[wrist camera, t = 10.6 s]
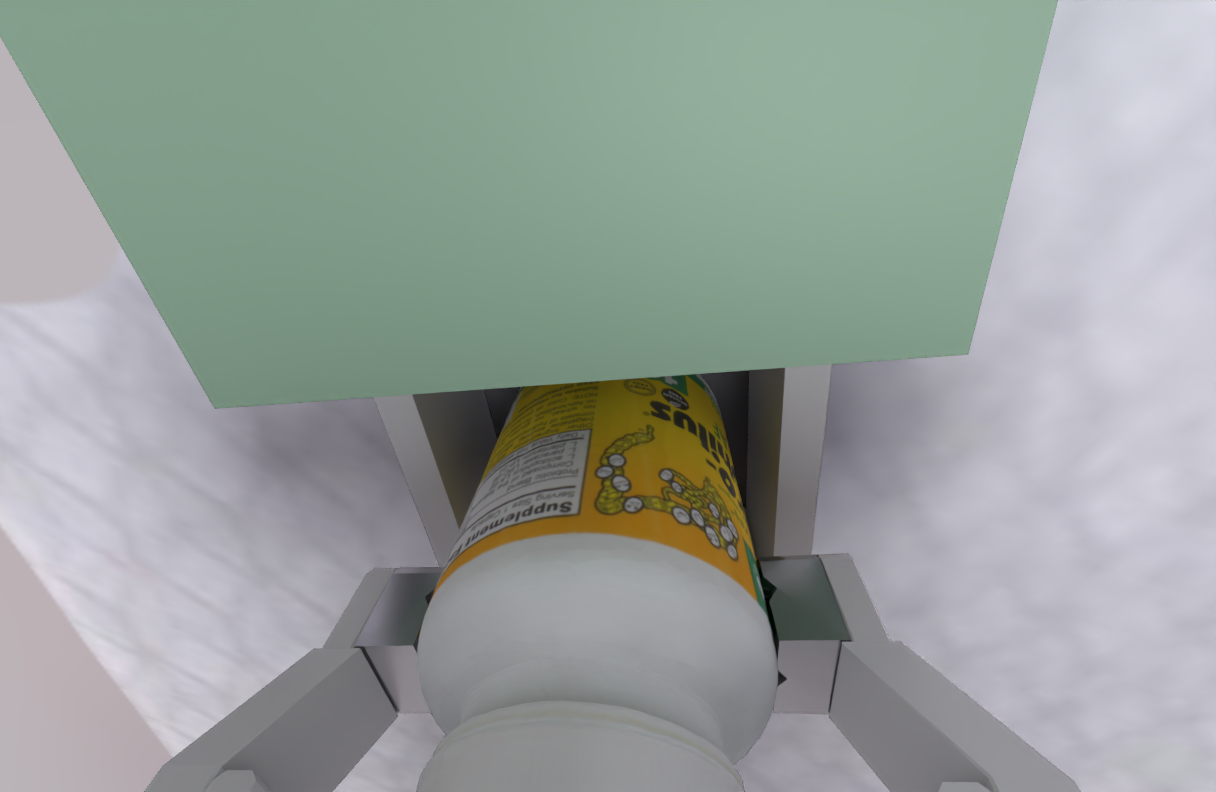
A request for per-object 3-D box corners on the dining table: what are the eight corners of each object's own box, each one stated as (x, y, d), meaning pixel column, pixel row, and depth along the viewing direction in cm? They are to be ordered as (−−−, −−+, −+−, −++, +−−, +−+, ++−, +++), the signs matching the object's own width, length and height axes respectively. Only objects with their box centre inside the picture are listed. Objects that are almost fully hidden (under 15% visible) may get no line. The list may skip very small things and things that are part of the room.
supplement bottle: (475, 388, 13) (190, 873, 5) (660, 289, 12) (687, 771, 3) (585, 526, 15) (513, 1022, 7) (755, 458, 14) (914, 1004, 6)
